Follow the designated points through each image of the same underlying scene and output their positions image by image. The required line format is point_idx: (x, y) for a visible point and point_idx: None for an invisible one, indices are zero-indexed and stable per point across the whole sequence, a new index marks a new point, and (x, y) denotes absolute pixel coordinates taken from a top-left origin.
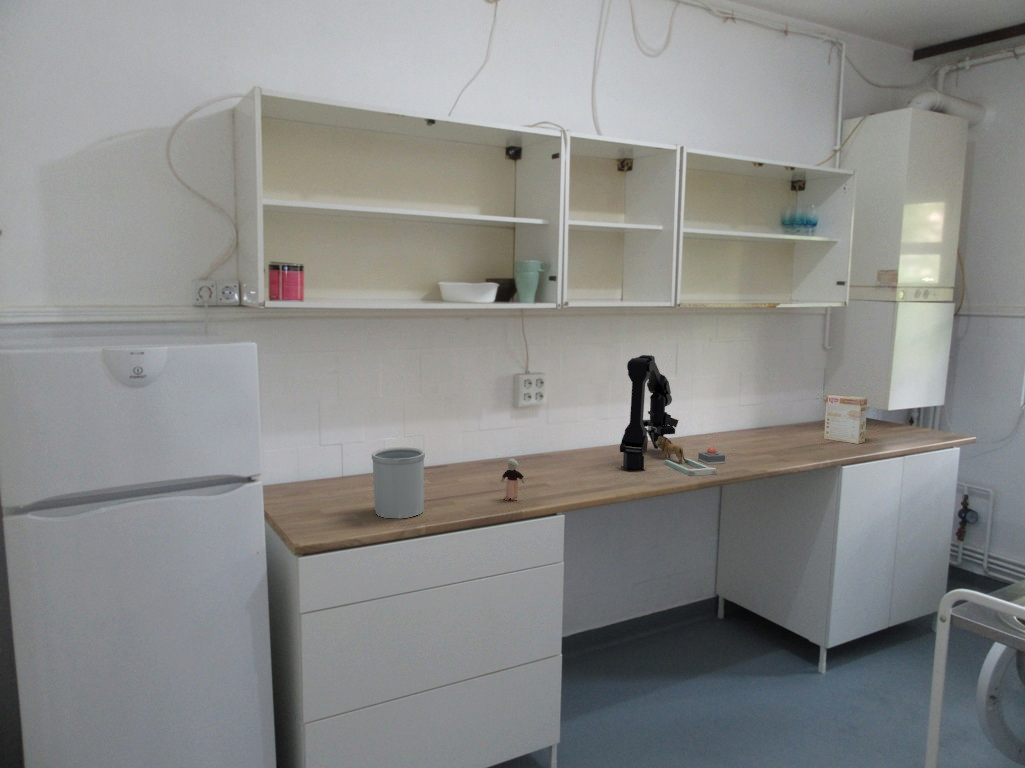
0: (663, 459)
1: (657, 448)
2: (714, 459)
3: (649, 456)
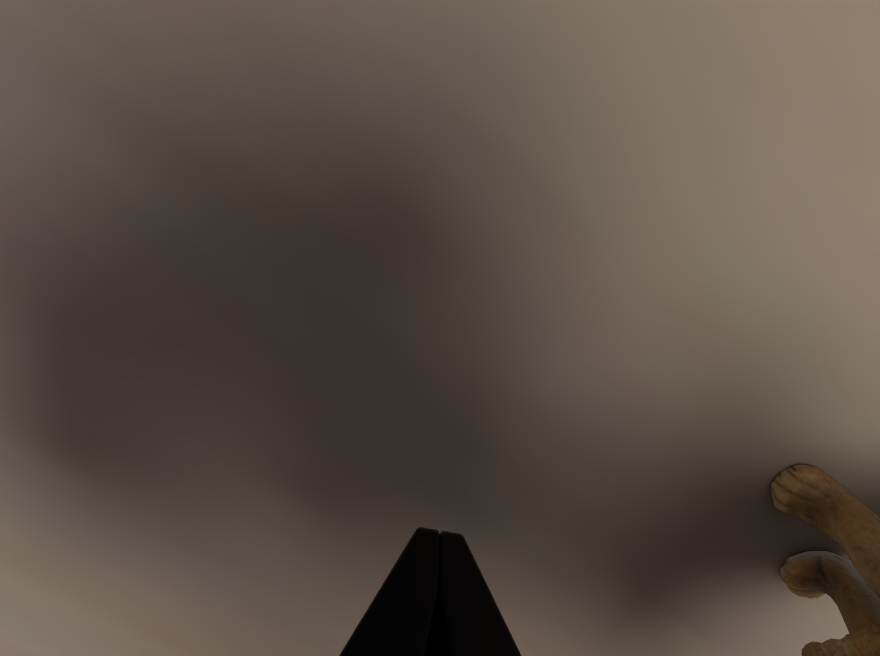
0: (809, 596)
1: (460, 542)
2: None
3: (496, 597)
